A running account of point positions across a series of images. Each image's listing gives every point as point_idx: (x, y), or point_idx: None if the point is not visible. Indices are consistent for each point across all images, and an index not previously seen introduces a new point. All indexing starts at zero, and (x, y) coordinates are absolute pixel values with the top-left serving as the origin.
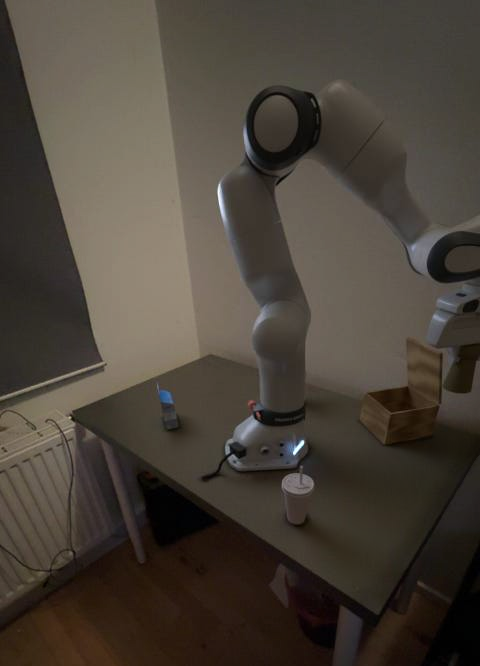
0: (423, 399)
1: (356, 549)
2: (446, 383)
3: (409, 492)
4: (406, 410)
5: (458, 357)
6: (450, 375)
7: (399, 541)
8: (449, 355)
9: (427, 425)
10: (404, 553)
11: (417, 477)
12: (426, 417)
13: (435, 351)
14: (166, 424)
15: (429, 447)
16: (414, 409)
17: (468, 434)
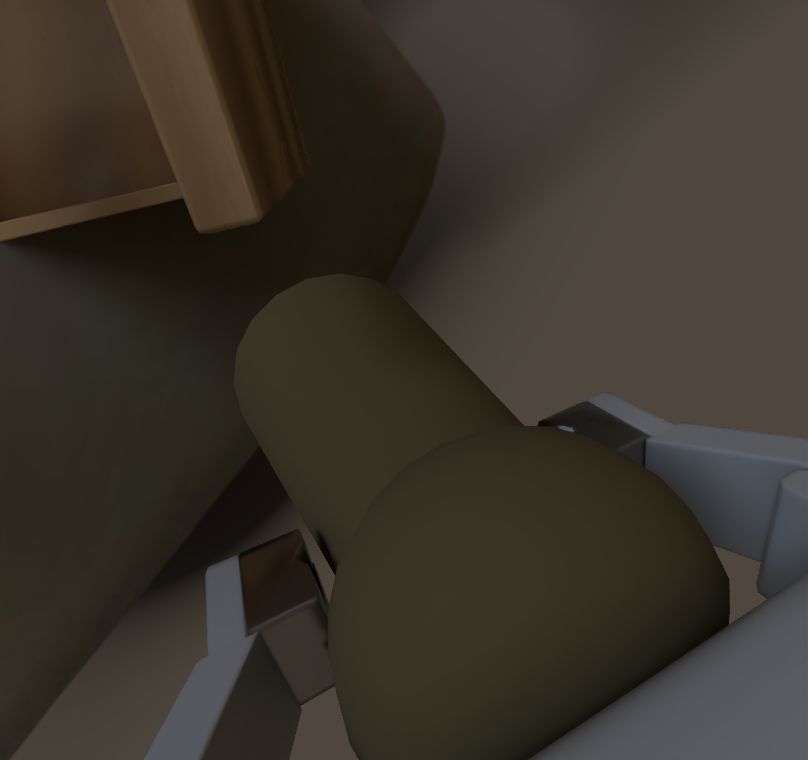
0: None
1: None
2: (248, 413)
3: (74, 531)
4: (39, 214)
5: (320, 686)
6: (270, 460)
7: (4, 706)
8: (214, 653)
9: None
10: (14, 731)
11: (123, 454)
12: None
13: (140, 62)
14: None
15: (231, 262)
16: (108, 204)
17: (428, 168)
